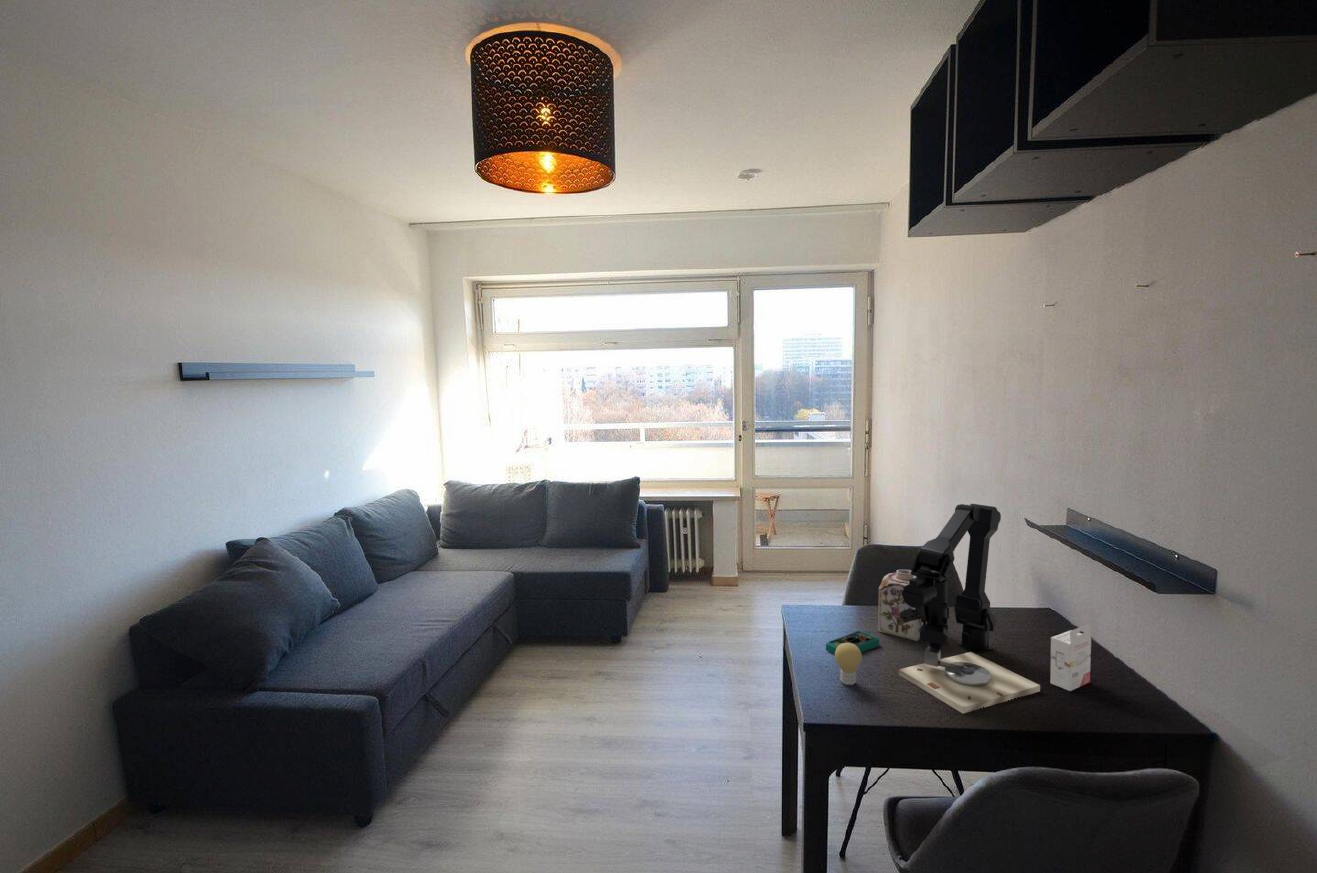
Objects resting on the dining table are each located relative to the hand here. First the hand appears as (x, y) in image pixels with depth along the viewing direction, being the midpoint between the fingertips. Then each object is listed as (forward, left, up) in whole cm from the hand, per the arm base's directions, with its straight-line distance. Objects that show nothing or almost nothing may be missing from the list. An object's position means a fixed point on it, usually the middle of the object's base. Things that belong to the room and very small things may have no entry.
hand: (934, 654), depth 161 cm
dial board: (-2, +9, -4) cm, 10 cm away
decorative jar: (-11, -22, -4) cm, 25 cm away
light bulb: (+24, -4, -4) cm, 25 cm away
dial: (-1, +7, -2) cm, 7 cm away
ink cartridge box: (-24, +18, -4) cm, 31 cm away
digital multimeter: (+10, -19, -5) cm, 22 cm away
